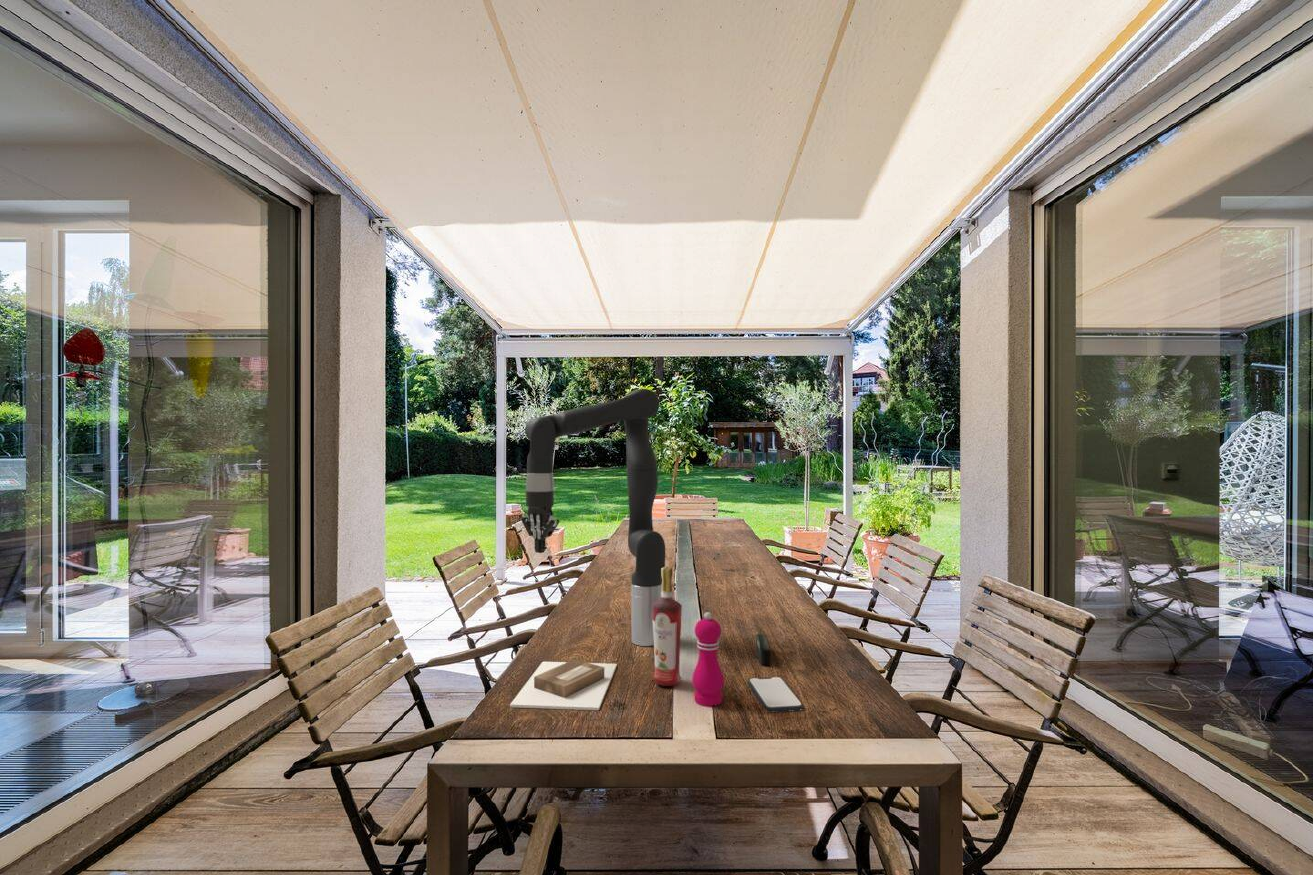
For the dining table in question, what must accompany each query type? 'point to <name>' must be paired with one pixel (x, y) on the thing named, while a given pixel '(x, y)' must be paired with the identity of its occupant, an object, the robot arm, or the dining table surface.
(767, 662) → the mobile phone
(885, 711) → the dining table surface
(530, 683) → the mat
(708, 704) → the pepper mill
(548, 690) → the slab
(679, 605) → the liquor
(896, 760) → the dining table surface
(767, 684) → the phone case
